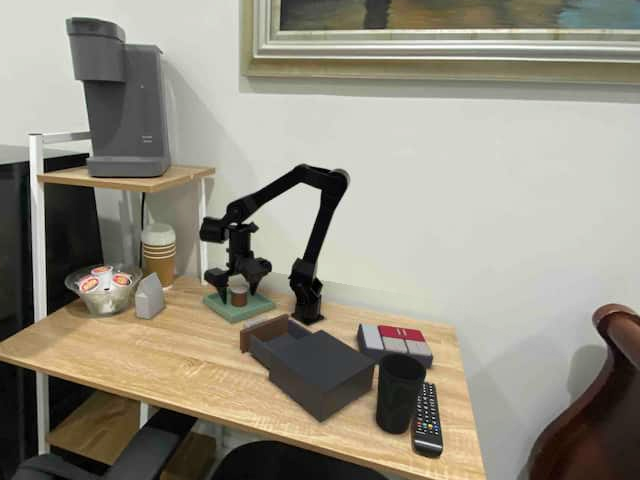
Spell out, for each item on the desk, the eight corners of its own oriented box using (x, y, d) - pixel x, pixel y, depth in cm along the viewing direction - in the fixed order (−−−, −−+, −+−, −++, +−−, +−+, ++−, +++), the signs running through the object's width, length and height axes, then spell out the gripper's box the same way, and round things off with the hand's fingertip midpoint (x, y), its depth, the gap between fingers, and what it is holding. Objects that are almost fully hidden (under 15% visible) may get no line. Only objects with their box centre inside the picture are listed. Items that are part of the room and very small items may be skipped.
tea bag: (163, 307, 104) (161, 273, 101) (149, 319, 98) (146, 283, 95) (151, 305, 105) (149, 270, 102) (136, 316, 99) (133, 280, 96)
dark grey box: (268, 379, 79) (270, 352, 76) (319, 354, 88) (321, 329, 86) (320, 423, 69) (324, 392, 66) (371, 389, 78) (376, 361, 75)
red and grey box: (435, 355, 84) (365, 345, 84) (430, 371, 85) (361, 362, 86) (421, 328, 94) (359, 320, 94) (417, 343, 95) (356, 335, 96)
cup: (364, 407, 73) (373, 353, 69) (404, 406, 74) (415, 352, 69) (377, 440, 66) (388, 381, 61) (421, 438, 66) (434, 381, 62)
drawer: (229, 340, 90) (229, 322, 88) (273, 323, 98) (274, 306, 96) (278, 380, 77) (279, 360, 76) (325, 357, 86) (327, 338, 84)
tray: (244, 289, 117) (244, 283, 117) (274, 308, 107) (275, 301, 107) (203, 302, 108) (203, 295, 108) (231, 323, 98) (231, 316, 98)
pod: (241, 298, 111) (241, 284, 109) (250, 304, 108) (250, 289, 106) (227, 302, 108) (227, 287, 106) (237, 309, 105) (237, 293, 103)
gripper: (226, 263, 90) (226, 321, 96) (286, 248, 102) (283, 301, 107) (202, 249, 98) (203, 304, 104) (260, 237, 110) (258, 287, 115)
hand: (238, 299), depth 107 cm, fingers open, 9 cm apart
